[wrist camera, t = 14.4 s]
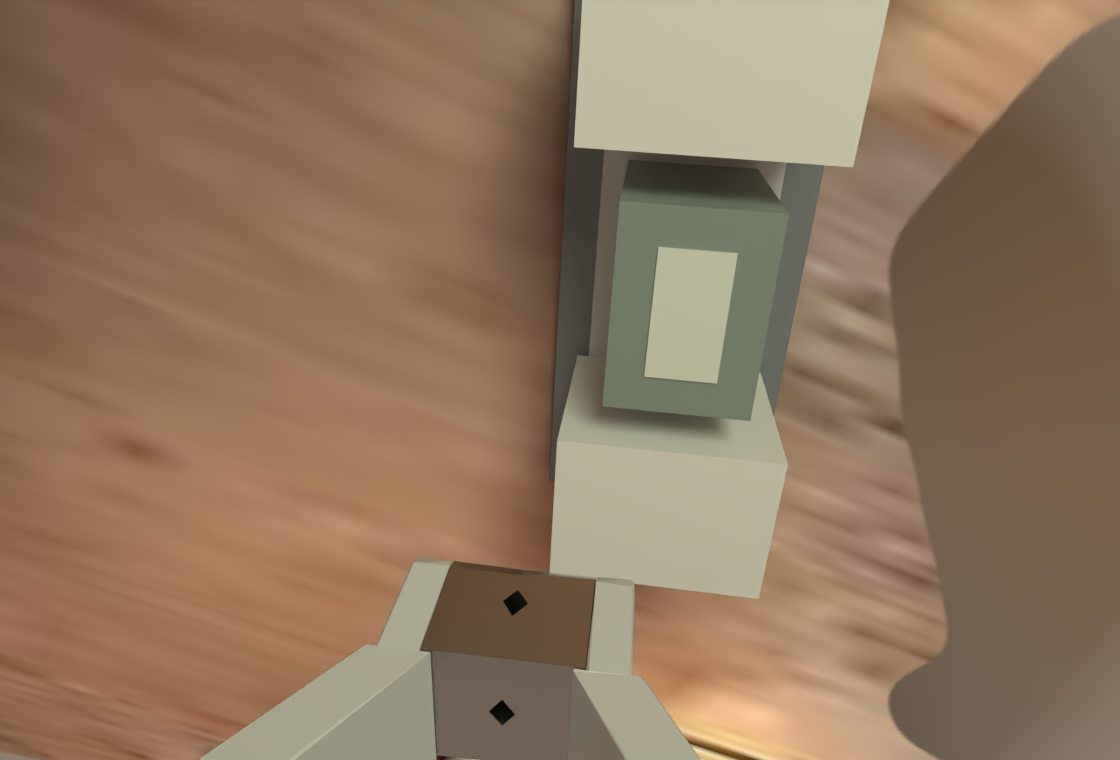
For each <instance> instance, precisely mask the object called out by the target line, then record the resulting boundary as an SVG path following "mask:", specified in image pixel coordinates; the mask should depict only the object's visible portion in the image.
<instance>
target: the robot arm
mask: <svg viewBox="0 0 1120 760" xmlns="http://www.w3.org/2000/svg"><path fill="white" fill-rule="evenodd" d="M595 580H596V586H595ZM634 592H635V585H634V582H633V580H627V579H615V578H604V577H597V579H596V577H587V576H577V575H567V574H557V573H547V572H537V571H527V570H518V569H511V568H503V567H496V566H488V565H480V564H473V563H465V562H458V561H454V562H451V561H444V560H437V559H429V558H422V557H418V558H417V559H416V560H415V561H414V562H413V563H412V564H411V567H410V569H409V571H408V574H407V576H406V578H405V580H404V583H403V585H402V587H401V589H400V592H399V594H398V596H397V599H396V601H395V603H394V605H393V608H392V610H391V612H390V614H389V617H388V619H387V621H386V624H385V626H384V628H383V630H382V633H381V635H380V637H379V639H378V642H377V644H376V646H375V645H363V646H362V647H360V648H359V649H358V650H356V651H355V652H353V653H352V654H350V655H349V656H347V657H346V658H345V659H343V660H342V661H340V662H339V663H337V664H336V665H334V666H333V667H332V668H330V669H329V670H327V671H326V672H324V673H323V674H321V675H320V676H319V677H317V678H316V679H314V680H313V681H311V682H310V683H308V684H307V685H306V686H304V687H303V688H301V689H300V690H298V691H297V692H295V693H294V694H293V695H291V696H290V697H288V698H287V699H285V700H284V701H282V702H281V703H280V704H278V705H277V706H275V707H274V708H272V709H271V710H269V711H268V712H266V713H265V714H264V715H262V716H261V717H259V718H258V719H256V720H255V721H253V722H252V723H251V724H249V725H248V726H246V727H245V728H243V729H242V730H240V731H239V732H238V733H236V734H235V735H233V736H232V737H230V738H229V739H227V740H226V741H225V742H223V743H222V744H220V745H219V746H217V747H216V748H214V749H213V750H212V751H210V752H209V753H207V754H206V755H204V756H203V757H201V759H200V760H436V755H440V756H450V757H460V758H470V759H480V760H700V758H699V757H698V755H697V754H696V752H695V751H694V750H693V748H692V747H691V745H690V744H689V742H688V741H687V740H686V738H685V737H684V735H683V734H682V732H681V731H680V730H679V728H678V727H677V725H676V724H675V722H674V721H673V720H672V718H671V717H670V715H669V714H668V712H667V711H666V710H665V708H664V707H663V705H662V704H661V702H660V701H659V700H658V698H657V697H656V695H655V694H654V692H653V691H652V690H651V688H650V687H649V685H648V684H647V682H646V681H645V680H644V678H643V677H636V676H632V649H633V621H634ZM594 595H595V596H594Z"/></svg>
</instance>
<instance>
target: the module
mask: <svg viewBox="0 0 1120 760" xmlns="http://www.w3.org/2000/svg"><path fill="white" fill-rule="evenodd" d="M788 217H789V213H788V212H787V210H786V209H785V208H784V206H783V205H782V203H781V202H780V200H779V199H778V197H777V196H776V194H775V193H774V192H773V190H772V189H771V187H770V186H769V184H768V183H767V181H766V180H765V178H764V177H763V176H762V174H761V173H760V171H759V170H758V169H750V168H736V167H722V166H708V165H694V164H680V163H666V162H652V161H638V160H628V164H627V169H626V174H625V178H624V183H623V188H622V193H621V197H620V204H619V216H618V227H617V239H616V251H615V262H614V274H613V286H612V297H611V309H610V321H609V333H608V344H607V356H606V368H605V379H604V391H603V403H602V406H604V407H614V408H624V409H634V410H644V411H654V412H664V413H674V414H684V415H694V416H704V417H714V418H724V419H734V420H744V421H750V420H751V415H752V409H753V404H754V399H755V393H756V388H757V383H758V377H759V372H760V367H761V361H762V356H763V350H764V345H765V340H766V334H767V329H768V324H769V318H770V313H771V308H772V302H773V297H774V292H775V286H776V281H777V275H778V270H779V265H780V259H781V254H782V249H783V243H784V238H785V233H786V227H787V222H788Z"/></svg>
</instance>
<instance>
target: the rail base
mask: <svg viewBox="0 0 1120 760" xmlns="http://www.w3.org/2000/svg"><path fill="white" fill-rule="evenodd" d="M889 1H890V0H575V8H574V27H573V45H572V64H571V83H570V102H569V121H568V139H567V158H566V177H565V196H564V215H563V233H562V252H561V271H560V290H559V308H558V327H557V346H556V365H555V384H554V402H553V421H552V440H551V459H550V477H549V480H552V481H555V487H554V504H553V522H552V539H551V557H550V573H557V574H567V575H577V576H587V577H596V579H597V577H604V578H615V579H627V580H633V582H634V584H640V585H648V586H657V587H665V588H673V589H682V590H690V591H698V592H707V593H715V594H723V595H732V596H740V597H748V598H757V599H758V598H759V594H760V589H761V585H762V580H763V576H764V571H765V567H766V562H767V557H768V553H769V548H770V544H771V539H772V535H773V530H774V526H775V521H776V516H777V512H778V507H779V503H780V498H781V494H782V489H783V484H784V480H785V475H786V471H787V466H788V464H787V460H786V457H785V453H784V450H783V447H782V443H781V440H780V437H779V433H778V430H777V426H776V423H775V420H774V411H775V406H776V401H777V396H778V392H779V387H780V382H781V377H782V372H783V367H784V362H785V357H786V352H787V347H788V342H789V337H790V332H791V327H792V322H793V317H794V312H795V308H796V303H797V298H798V293H799V288H800V283H801V278H802V273H803V268H804V263H805V258H806V253H807V248H808V243H809V238H810V233H811V228H812V224H813V219H814V214H815V209H816V204H817V199H818V194H819V189H820V184H821V179H822V174H823V169H824V165H829V166H843V167H853V165H854V161H855V156H856V152H857V147H858V142H859V138H860V133H861V129H862V124H863V120H864V115H865V110H866V106H867V101H868V97H869V92H870V88H871V83H872V79H873V74H874V69H875V65H876V60H877V56H878V51H879V47H880V42H881V37H882V33H883V28H884V24H885V19H886V15H887V10H888V6H889ZM628 160H638V161H652V162H666V163H680V164H694V165H708V166H722V167H736V168H750V169H758V170H759V171H760V173H761V174H762V176H763V177H764V178H765V180H766V181H767V183H768V184H769V186H770V187H771V189H772V190H773V192H774V193H775V194H776V196H777V197H778V199H779V200H780V202H781V203H782V205H783V206H784V208H785V209H786V210H787V212H788V213H789V217H788V222H787V227H786V233H785V238H784V243H783V249H782V254H781V259H780V265H779V270H778V275H777V281H776V286H775V292H774V297H773V302H772V308H771V313H770V318H769V324H768V329H767V334H766V340H765V345H764V350H763V356H762V361H761V367H760V372H759V377H758V383H757V388H756V393H755V399H754V404H753V409H752V415H751V420H750V421H744V420H734V419H724V418H714V417H704V416H694V415H684V414H674V413H664V412H654V411H644V410H634V409H624V408H614V407H604V406H602V403H603V391H604V379H605V368H606V356H607V344H608V333H609V321H610V309H611V297H612V286H613V274H614V262H615V251H616V239H617V227H618V216H619V204H620V197H621V193H622V188H623V183H624V178H625V174H626V169H627V164H628Z"/></svg>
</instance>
